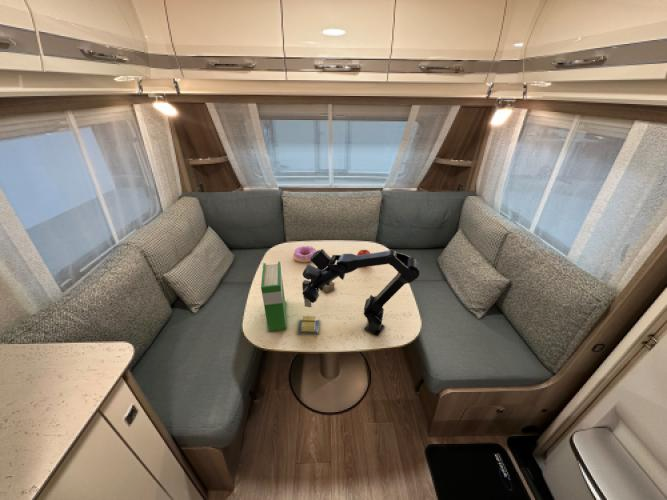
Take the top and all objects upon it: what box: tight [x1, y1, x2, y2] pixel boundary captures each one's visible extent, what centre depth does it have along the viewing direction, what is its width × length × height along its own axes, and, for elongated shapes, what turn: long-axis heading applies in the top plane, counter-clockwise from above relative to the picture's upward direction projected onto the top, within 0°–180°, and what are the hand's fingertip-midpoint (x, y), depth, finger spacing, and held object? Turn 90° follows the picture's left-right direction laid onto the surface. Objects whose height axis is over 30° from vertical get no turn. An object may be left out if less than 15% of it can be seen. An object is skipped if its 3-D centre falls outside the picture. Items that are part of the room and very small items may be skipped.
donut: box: [293, 245, 317, 263], centre depth 167 cm, size 14×14×5 cm
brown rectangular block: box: [322, 281, 335, 294], centre depth 140 cm, size 7×5×4 cm
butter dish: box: [297, 315, 320, 335], centre depth 117 cm, size 8×7×4 cm
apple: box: [356, 249, 371, 255], centre depth 156 cm, size 9×8×11 cm
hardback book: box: [260, 261, 287, 332], centre depth 118 cm, size 18×7×24 cm, turn 10°
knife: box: [302, 279, 313, 308], centre depth 117 cm, size 3×2×14 cm
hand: (304, 292), depth 117 cm, fingers closed on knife, 2 cm apart
